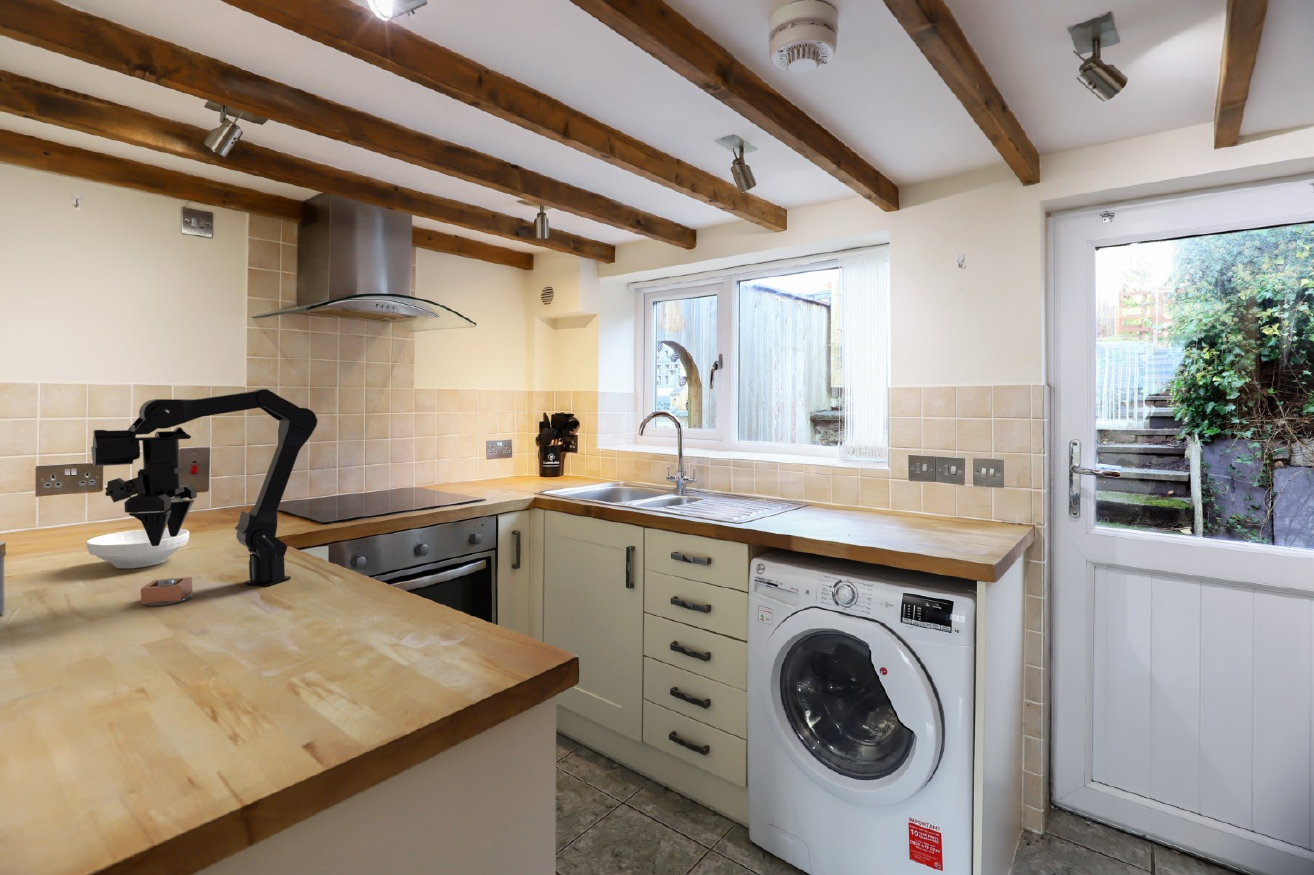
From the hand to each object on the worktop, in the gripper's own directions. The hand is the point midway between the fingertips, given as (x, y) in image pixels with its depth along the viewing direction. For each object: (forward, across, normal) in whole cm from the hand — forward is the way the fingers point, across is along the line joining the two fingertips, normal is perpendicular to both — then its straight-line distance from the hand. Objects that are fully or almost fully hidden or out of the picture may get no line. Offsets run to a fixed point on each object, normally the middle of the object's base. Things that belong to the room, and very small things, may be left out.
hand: (164, 541), depth 130 cm
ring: (+11, 0, 0) cm, 11 cm away
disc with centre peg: (+12, 0, 0) cm, 12 cm away
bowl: (+12, -35, -17) cm, 41 cm away
